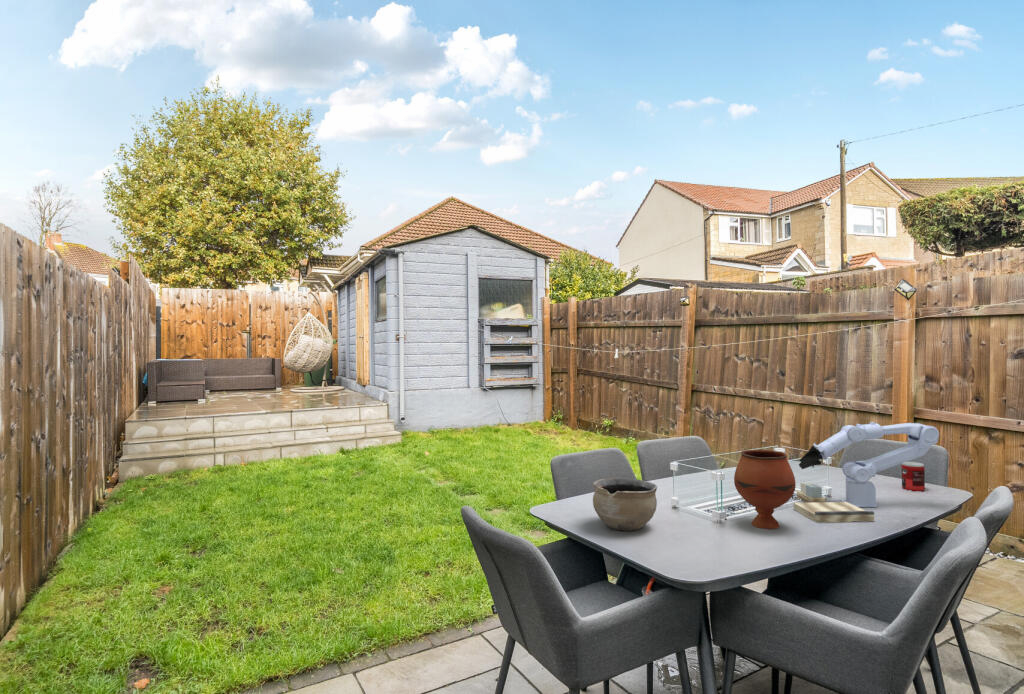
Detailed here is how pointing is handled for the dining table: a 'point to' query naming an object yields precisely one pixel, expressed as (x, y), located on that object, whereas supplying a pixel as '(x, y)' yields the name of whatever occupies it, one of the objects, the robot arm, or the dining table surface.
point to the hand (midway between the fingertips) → (800, 464)
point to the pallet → (809, 498)
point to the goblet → (764, 483)
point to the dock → (833, 512)
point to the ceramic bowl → (624, 502)
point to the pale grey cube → (814, 491)
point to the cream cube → (803, 486)
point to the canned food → (913, 476)
